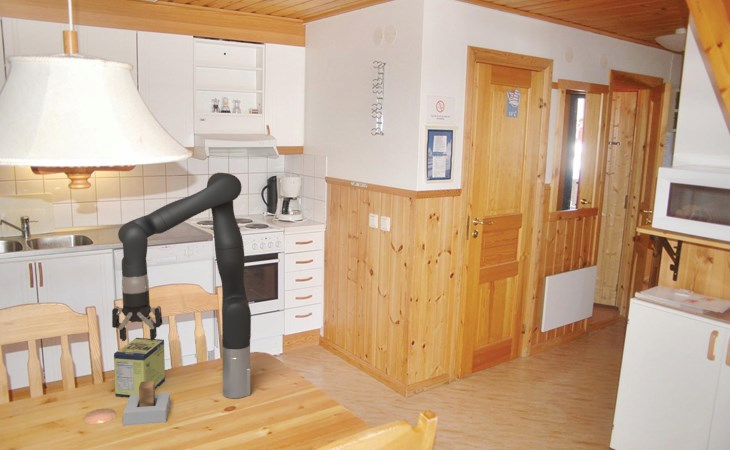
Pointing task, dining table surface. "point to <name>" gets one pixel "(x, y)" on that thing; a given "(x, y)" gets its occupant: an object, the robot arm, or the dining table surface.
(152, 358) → the protein box
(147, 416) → the pocket holder
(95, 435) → the dining table surface
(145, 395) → the walnut block
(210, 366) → the dining table surface
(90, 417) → the coaster
